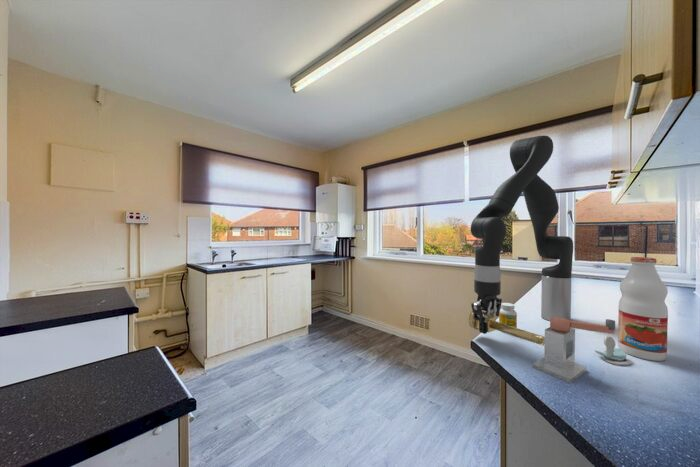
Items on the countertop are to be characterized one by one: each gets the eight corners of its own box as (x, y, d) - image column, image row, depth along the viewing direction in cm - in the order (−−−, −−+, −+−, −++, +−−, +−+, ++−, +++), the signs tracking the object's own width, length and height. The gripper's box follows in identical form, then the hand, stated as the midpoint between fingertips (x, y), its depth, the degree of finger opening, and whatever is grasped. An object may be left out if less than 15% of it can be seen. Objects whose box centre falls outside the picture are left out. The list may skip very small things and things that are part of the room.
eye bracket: (549, 357, 72) (550, 320, 72) (586, 370, 66) (587, 330, 65) (532, 367, 67) (533, 328, 67) (570, 383, 60) (571, 339, 60)
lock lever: (611, 333, 63) (611, 318, 63) (618, 340, 59) (618, 323, 59) (548, 324, 69) (549, 310, 69) (551, 329, 65) (551, 315, 65)
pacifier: (637, 365, 68) (611, 354, 74) (639, 343, 68) (613, 333, 74) (615, 368, 67) (590, 356, 73) (617, 345, 67) (592, 335, 73)
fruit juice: (653, 349, 77) (655, 256, 76) (676, 365, 68) (679, 260, 67) (611, 343, 81) (613, 255, 80) (628, 357, 72) (630, 258, 71)
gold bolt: (480, 325, 88) (480, 307, 88) (548, 349, 71) (549, 327, 71) (468, 330, 85) (468, 310, 85) (537, 355, 68) (538, 332, 68)
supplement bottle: (508, 327, 94) (509, 301, 94) (520, 333, 88) (520, 306, 88) (495, 328, 93) (495, 302, 93) (506, 334, 88) (506, 307, 87)
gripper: (485, 283, 76) (485, 341, 76) (510, 278, 83) (510, 330, 83) (463, 279, 82) (463, 332, 82) (488, 274, 89) (487, 323, 90)
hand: (486, 331), depth 83 cm, fingers closed on gold bolt, 3 cm apart
